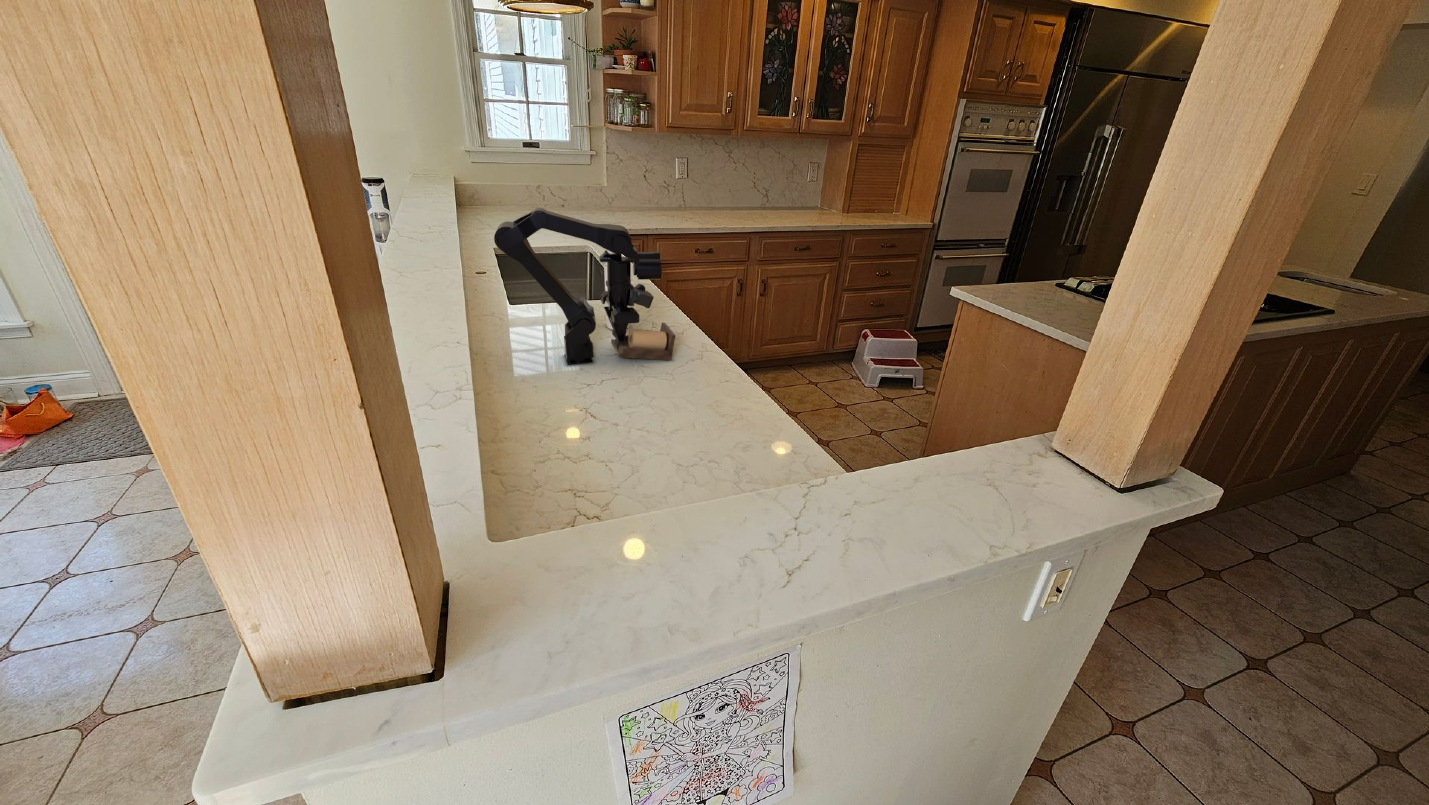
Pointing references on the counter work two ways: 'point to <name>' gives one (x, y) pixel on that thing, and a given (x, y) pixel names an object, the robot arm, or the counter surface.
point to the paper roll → (647, 339)
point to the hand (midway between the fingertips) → (619, 338)
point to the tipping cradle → (626, 351)
